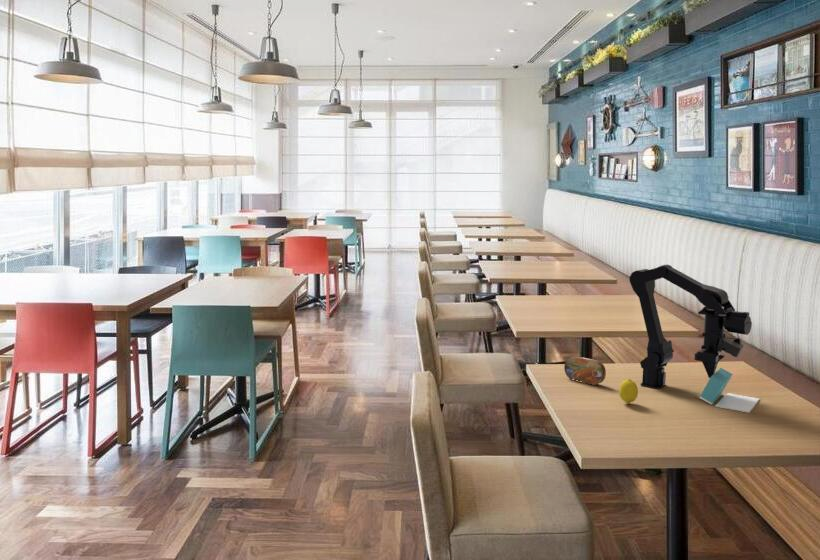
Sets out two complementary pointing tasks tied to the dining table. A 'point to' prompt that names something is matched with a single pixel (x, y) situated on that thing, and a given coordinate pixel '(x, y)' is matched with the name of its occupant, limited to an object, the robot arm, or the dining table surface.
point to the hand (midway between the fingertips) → (710, 377)
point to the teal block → (715, 386)
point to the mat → (737, 402)
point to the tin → (585, 370)
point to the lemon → (628, 391)
